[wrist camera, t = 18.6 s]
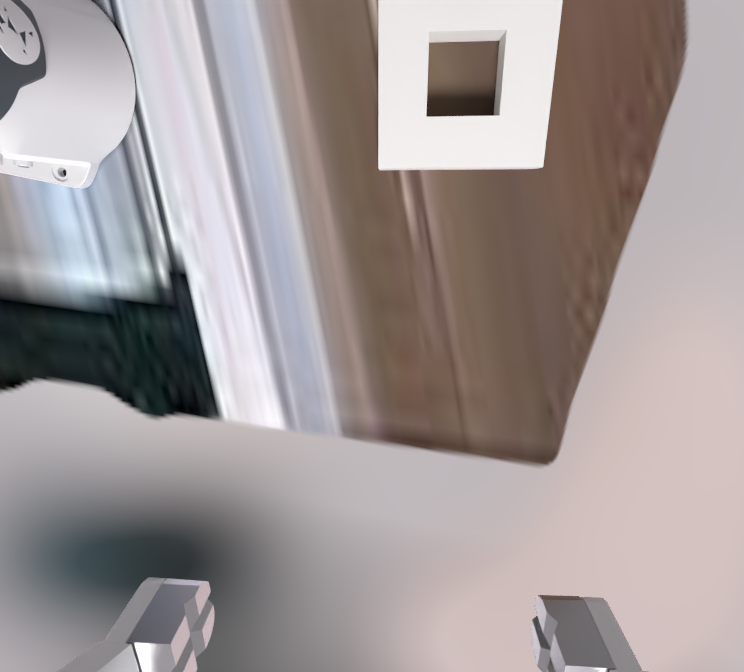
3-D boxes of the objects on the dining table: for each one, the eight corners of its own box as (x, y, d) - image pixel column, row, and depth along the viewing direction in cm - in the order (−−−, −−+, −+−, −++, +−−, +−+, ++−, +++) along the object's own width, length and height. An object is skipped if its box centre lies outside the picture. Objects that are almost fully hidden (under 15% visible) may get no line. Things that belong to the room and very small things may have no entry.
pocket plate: (379, 170, 39) (378, 168, 36) (379, -14, 34) (378, -29, 32) (534, 168, 38) (542, 167, 36) (554, -20, 33) (566, -36, 31)
